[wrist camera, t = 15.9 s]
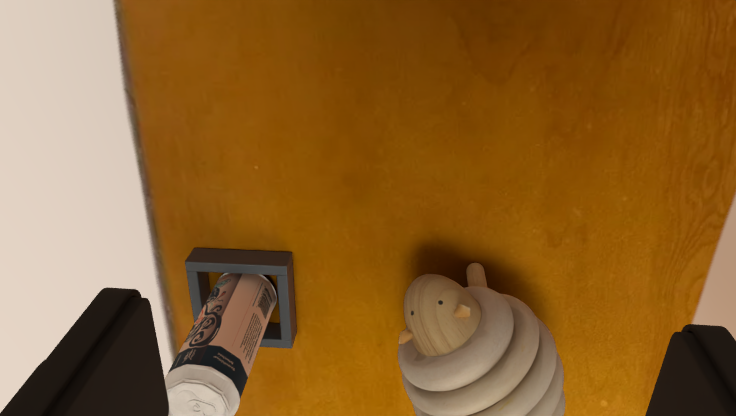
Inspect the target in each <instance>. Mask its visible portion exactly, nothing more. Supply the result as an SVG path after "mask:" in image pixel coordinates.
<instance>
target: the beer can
mask: <svg viewBox="0 0 736 416" xmlns="http://www.w3.org/2000/svg"><path fill="white" fill-rule="evenodd" d="M276 301H277V296H276V292H275V289H274V287H273V285H272V284H271V282H270V281H269V280H268V279H267V278H266V277H264V276H263V275H262V274H242V273H224V274H223V275H222V276H221V277H220V278H219V279H218V281H217V283H216V285H215V287H214V288H213V290H212V292H211V294H210V296H209V298H208V300H207V301H206V303H205V305H204V307H203V309H202V311H201V313H200V315H199V316H198V318H197V320H196V322H195V324H194V326H193V328H192V329H191V331H190V333H189V335H188V337H187V339H186V341H185V342H184V344H183V346H182V348H181V350H180V352H179V354H178V355H177V357H176V359H175V361H174V363H173V365H172V367H171V368H170V370H169V372H168V374H167V376H166V377H165V379H164V380H165V385H166V390H167V396H168V401H169V415H168V416H234V415H235V413H236V411H237V410H238V407H239V403H240V398H241V395H242V392H243V390H244V387H245V384H246V381H247V379H248V376H249V373H250V370H251V368H252V365H253V362H254V359H255V357H256V354H257V351H258V348H259V346H260V343H261V340H262V338H263V335H264V332H265V329H266V327H267V324H268V321H269V318H270V316H271V313H272V311H273V309H274V307H275V304H276Z"/></svg>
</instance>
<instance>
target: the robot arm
mask: <svg viewBox="0 0 736 416" xmlns="http://www.w3.org/2000/svg"><path fill="white" fill-rule="evenodd" d="M168 415H169V401H168V396H167V390H166V385H165V380H164V375H163V369H162V364H161V358H160V354H159V348H158V343H157V337H156V332H155V327H154V321H153V316H152V311H151V305H150V302H149V300H148V299H147V298H142V297H141V294H140V292H139V291H138V290H135V289H121V288H120V289H119V288H104V289H102V290H101V291H100V292H99V294H98V295H97V296H96V297H95V299H94V300H93V301H92V302H91V304H90V305H89V306H88V307H87V309H86V310H85V311H84V312H83V314H82V315H81V316H80V317H79V319H78V320H77V321H76V322H75V324H74V325H73V326H72V327H71V329H70V330H69V331H68V332H67V334H66V335H65V336H64V337H63V339H62V340H61V341H60V342H59V344H58V345H57V346H56V347H55V349H54V350H53V351H52V353H51V354H50V355H49V356H48V358H47V359H46V360H44V361H43V362H42V363H41V364H40V365H39V366H38V367H37V368H36V370H35V371H34V372H33V373H32V375H31V376H30V377H29V378H28V379H27V381H26V382H25V383H24V385H23V386H22V387H21V388H20V389H19V391H18V392H17V393H16V394H15V396H14V397H13V398H12V399H11V401H10V402H9V403H8V404H7V406H6V407H5V408H4V409H3V411H2V412H1V413H0V416H168ZM645 416H736V341H735V339H734V338H733V337H732V335H731V334H730V332H729V331H728V330H727V329H726V328H724V327H722V326H710V325H709V326H708V325H694V324H689V325H686V326H685V327H684V328H683V329H682V331H681V332H675V333H674V334H673V335H672V337H671V339H670V342H669V345H668V348H667V351H666V354H665V358H664V361H663V364H662V367H661V370H660V373H659V376H658V379H657V382H656V385H655V388H654V391H653V394H652V397H651V400H650V403H649V406H648V409H647V412H646V415H645Z"/></svg>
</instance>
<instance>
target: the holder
mask: <svg viewBox="0 0 736 416" xmlns="http://www.w3.org/2000/svg"><path fill="white" fill-rule="evenodd" d="M185 266H186V271H187V278H188V284H189V291H190V297H191V303H192V310H193V316H194V323H195V322H196V320H197V318H198V316H199V315H200V313H201V311H202V309H203V307H204V305H205V303H206V301H207V300H208V298H209V296H210V288H209V281H208V274H207V272H221V273H242V274H263V275H277V288H278V301H279V314H280V324H277V323H268V324H267V327H266V329H265V332H264V335H263V338H262V340H261V343H260V346H259V347H276V348H292V347H293V343H294V340H295V336H296V333H297V329H296V312H295V295H294V279H293V263H292V252H274V251H252V250H229V249H207V248H194V249H193V250H192V252H191V253H190V255H189V256H188V258H187V259H186V261H185Z"/></svg>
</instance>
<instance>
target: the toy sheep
mask: <svg viewBox="0 0 736 416" xmlns="http://www.w3.org/2000/svg"><path fill="white" fill-rule="evenodd" d="M466 273H467V281H468V287H465V288H463V287H462V286H461V285H459V284H458V283H456V282H455V281H453V280H451V279H449V278H447V277H445V276H442V275H437V274H424V275H421V276H419V277H418V278H416V279H415V280H414V281H413V282H412V283H411V284H410V286H409V288H408V289H407V292H406V294H405V298H404V317H405V322H406V326H407V328H406V329H405V330H403V331H401V332H400V336H399V342H398V343H399V349H398V360H399V365H400V368H401V371H402V379H403V384H404V387H405V390H406V392H407V394H408V396H409V398H410V400H411V401H412V403H413V407H414V410H415V413H416V415H417V416H563V415H564V410H565V396H564V391H563V381H564V372H563V366H562V362H561V359H560V357H559V355H558V353H557V351H556V346H555V342H554V339H553V336H552V334H551V332H550V331H549V329H548V328H547V327H546V325H545V324H544V323H543V322H542V321H541V320H540V319H538V318H537V317H535V315H534V313H533V311H532V310H531V309H530V308H529V307H528V306H527V305H526V304H525V303H523V302H522V301H520V300H519V299H517V298H515V297H513V296H510V295H506V294H499V293H498V292H496V291H494V290H492V289H489V288H487V283H486V278H485V272H484V268H483V266H482V265H481V264H479V263H472V264H470V265H469V266H468V267H467V270H466Z"/></svg>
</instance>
